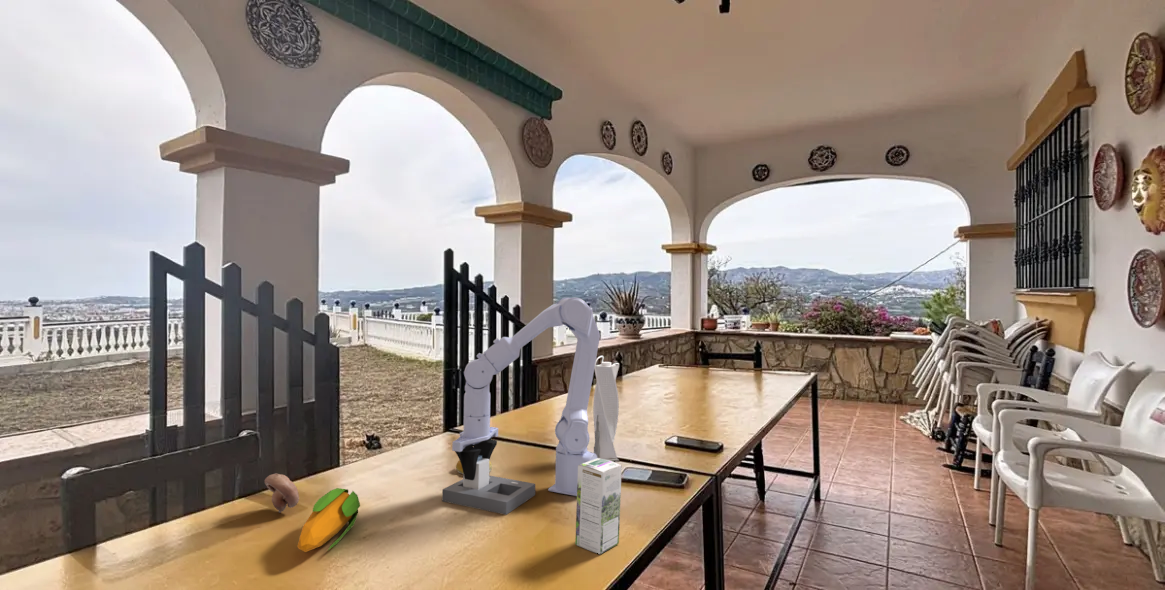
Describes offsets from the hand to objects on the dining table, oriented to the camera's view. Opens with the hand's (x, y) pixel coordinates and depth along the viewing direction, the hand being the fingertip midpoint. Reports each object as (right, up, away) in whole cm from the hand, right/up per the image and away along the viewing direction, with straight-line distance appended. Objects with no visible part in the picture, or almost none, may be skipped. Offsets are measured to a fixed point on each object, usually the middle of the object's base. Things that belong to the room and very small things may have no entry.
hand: (475, 476), depth 116 cm
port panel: (+3, -4, -2) cm, 6 cm away
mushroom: (-36, -4, -11) cm, 38 cm away
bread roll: (-4, -5, +16) cm, 17 cm away
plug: (0, -4, 0) cm, 4 cm away
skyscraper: (+30, -5, +30) cm, 42 cm away
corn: (-22, -4, -22) cm, 31 cm away
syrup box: (+26, -5, -23) cm, 35 cm away
